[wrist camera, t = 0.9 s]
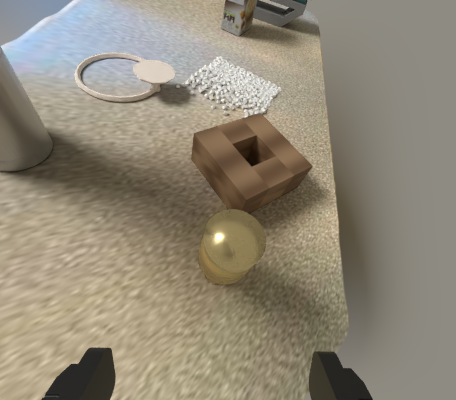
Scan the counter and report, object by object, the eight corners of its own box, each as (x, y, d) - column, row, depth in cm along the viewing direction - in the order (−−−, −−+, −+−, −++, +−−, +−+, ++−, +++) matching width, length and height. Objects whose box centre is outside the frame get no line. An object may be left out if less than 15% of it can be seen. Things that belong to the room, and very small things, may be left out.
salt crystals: (283, 92, 62) (285, 87, 61) (251, 131, 51) (253, 125, 49) (217, 59, 64) (218, 52, 63) (172, 89, 53) (172, 82, 52)
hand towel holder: (100, 28, 53) (189, 59, 53) (104, 49, 56) (188, 78, 56) (46, 63, 43) (155, 100, 43) (56, 86, 46) (157, 120, 47)
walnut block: (191, 159, 43) (193, 133, 38) (251, 137, 49) (260, 112, 44) (236, 220, 38) (246, 200, 33) (296, 187, 44) (312, 166, 39)
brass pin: (185, 263, 33) (191, 225, 23) (223, 241, 35) (241, 200, 26) (210, 304, 30) (227, 281, 21) (247, 278, 33) (278, 247, 24)
